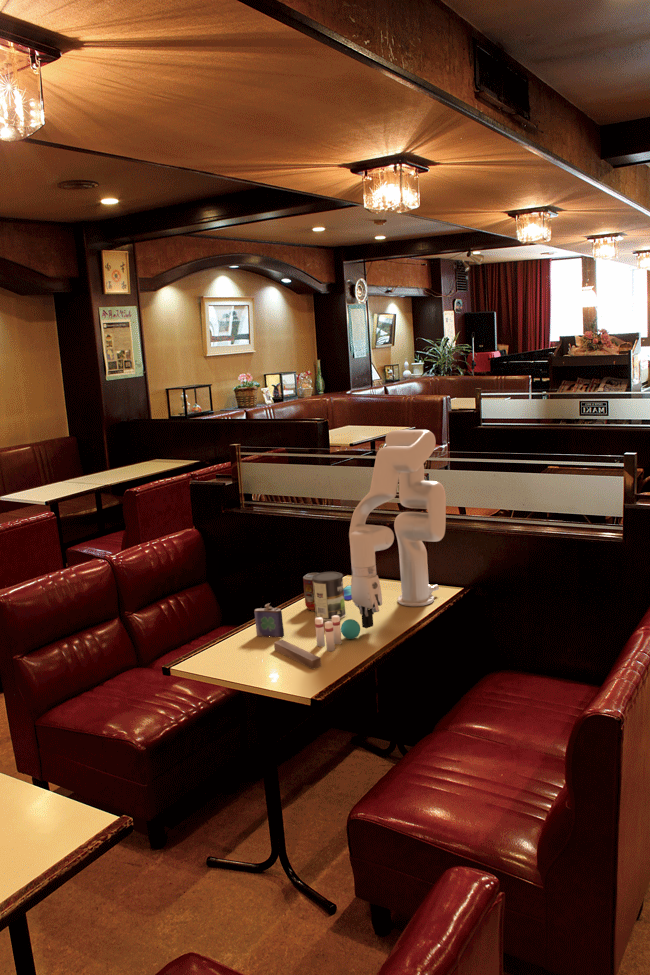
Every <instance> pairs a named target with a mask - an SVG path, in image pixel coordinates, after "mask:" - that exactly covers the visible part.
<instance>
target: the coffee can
mask: <svg viewBox="0 0 650 975" xmlns="http://www.w3.org/2000/svg"><path fill="white" fill-rule="evenodd" d="M317 573H318V574H316V575H314V576H312V580H313V589H314V600H315V611H314V612H315V618H318V617H321V618H323V622H327V621H331V622H332V616H334V615H338V616H339V617H340V620H342V619H343V617H344V618H345V617H346V616H345V615H346V603H345V600H344V590H343V589H344V580H343V577H344V574H343V573H341V572H337V571H323V572H317ZM341 618H342V619H341Z"/></svg>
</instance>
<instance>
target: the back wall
mask: <svg viewBox="0 0 650 975" xmlns="http://www.w3.org/2000/svg"><path fill="white" fill-rule="evenodd" d="M273 645H274V646H273V647H274V651H275V650H276V651H275V652H277V651H278V653H279V652H280V654H281V655H283V654H284V655H283V656H285V655H286V656H285V657H287V658H289V657H290V658H289V659H291V660H294V661H295V662H298V663H299V664H302V665H303V666H305V667H308V668H309V669H311V670H314V669H317V668H320V667H322V659H321V657H320V656H317V655H316V654H314V653H311V652H309V651H307V650H306V649H303V648H301V647H299V646H296V645H295V644H293V643H290V642H288V641H286V640H284V639H280V640H277V641H274V642H273Z"/></svg>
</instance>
